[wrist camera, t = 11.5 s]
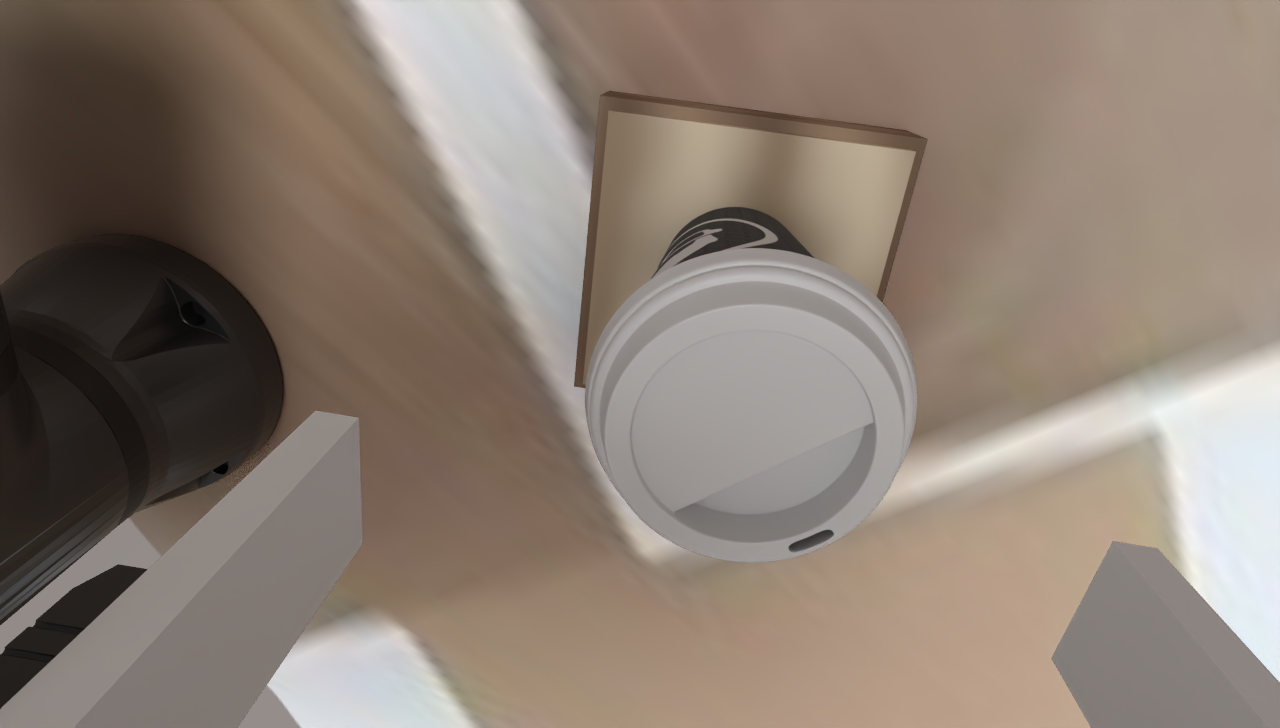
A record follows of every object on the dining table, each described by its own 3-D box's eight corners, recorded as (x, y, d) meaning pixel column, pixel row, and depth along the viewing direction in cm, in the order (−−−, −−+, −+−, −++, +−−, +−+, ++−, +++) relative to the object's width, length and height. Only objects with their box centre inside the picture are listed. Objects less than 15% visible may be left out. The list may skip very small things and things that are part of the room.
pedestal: (584, 359, 39) (571, 391, 36) (609, 91, 33) (598, 96, 30) (836, 395, 39) (850, 431, 35) (906, 130, 33) (931, 140, 29)
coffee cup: (645, 382, 35) (607, 595, 21) (612, 188, 31) (539, 297, 18) (843, 360, 34) (937, 574, 20) (833, 155, 30) (940, 245, 16)
